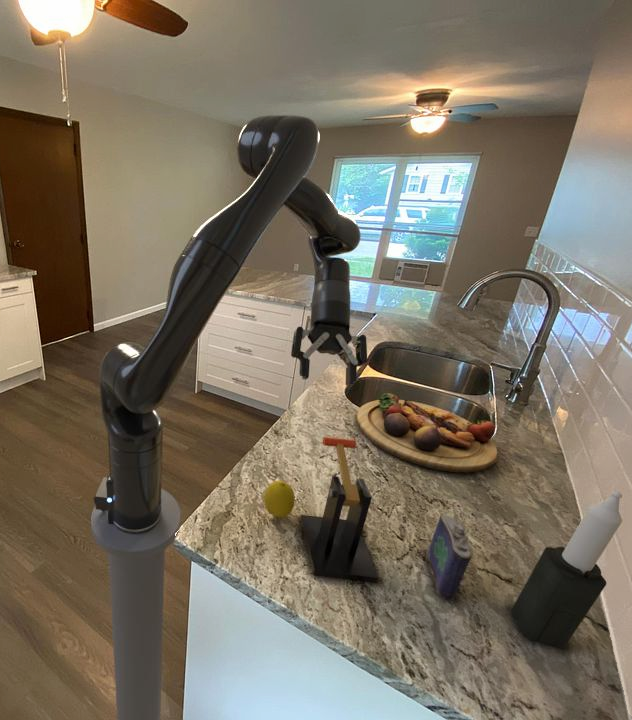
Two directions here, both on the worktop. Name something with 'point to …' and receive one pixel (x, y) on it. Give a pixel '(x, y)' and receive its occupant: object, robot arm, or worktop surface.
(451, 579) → the flask
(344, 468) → the valve lever
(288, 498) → the lemon
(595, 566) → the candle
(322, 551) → the black lever stand
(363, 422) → the wooden plate
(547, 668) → the worktop surface
